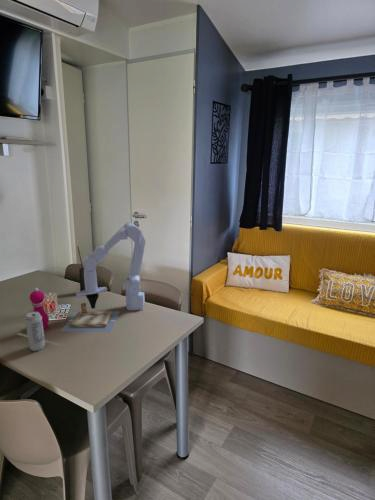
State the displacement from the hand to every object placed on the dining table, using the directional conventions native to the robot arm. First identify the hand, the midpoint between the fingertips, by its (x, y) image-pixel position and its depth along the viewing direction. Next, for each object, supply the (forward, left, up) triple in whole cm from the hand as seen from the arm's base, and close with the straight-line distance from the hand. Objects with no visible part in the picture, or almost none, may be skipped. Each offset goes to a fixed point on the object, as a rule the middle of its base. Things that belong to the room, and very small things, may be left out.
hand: (93, 307), depth 163 cm
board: (-1, +7, -4) cm, 8 cm away
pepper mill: (+20, +14, -4) cm, 25 cm away
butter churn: (+12, -28, -4) cm, 30 cm away
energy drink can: (+15, +29, -4) cm, 33 cm away
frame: (-1, +7, -3) cm, 8 cm away
